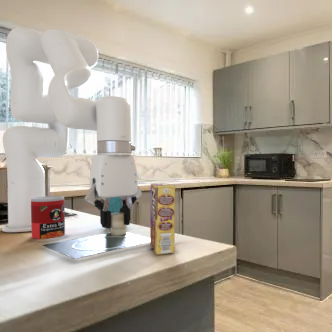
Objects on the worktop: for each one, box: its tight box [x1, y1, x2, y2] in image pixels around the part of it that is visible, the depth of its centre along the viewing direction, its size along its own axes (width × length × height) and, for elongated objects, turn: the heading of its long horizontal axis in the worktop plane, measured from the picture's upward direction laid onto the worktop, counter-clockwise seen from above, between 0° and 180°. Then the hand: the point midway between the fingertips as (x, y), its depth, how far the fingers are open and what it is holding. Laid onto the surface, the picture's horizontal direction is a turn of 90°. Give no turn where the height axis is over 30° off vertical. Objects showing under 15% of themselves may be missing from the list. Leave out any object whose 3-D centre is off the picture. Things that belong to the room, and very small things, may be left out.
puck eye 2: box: [110, 225, 127, 236], centre depth 89 cm, size 4×4×3 cm
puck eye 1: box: [110, 212, 124, 229], centre depth 78 cm, size 4×4×3 cm
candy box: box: [149, 182, 176, 255], centre depth 75 cm, size 9×4×15 cm, turn 26°
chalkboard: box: [41, 231, 150, 260], centre depth 80 cm, size 18×20×1 cm
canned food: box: [31, 195, 66, 240], centre depth 88 cm, size 8×8×11 cm
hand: (115, 225), depth 78 cm, fingers closed on puck eye 1, 4 cm apart
